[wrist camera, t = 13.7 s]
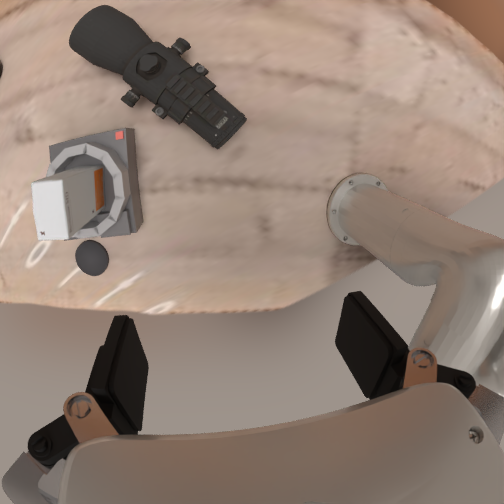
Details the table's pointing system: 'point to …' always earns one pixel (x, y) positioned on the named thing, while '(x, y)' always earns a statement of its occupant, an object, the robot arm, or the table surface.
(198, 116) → the rifle scope
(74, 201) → the skincare box
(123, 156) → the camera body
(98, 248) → the lens cap
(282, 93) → the table surface
